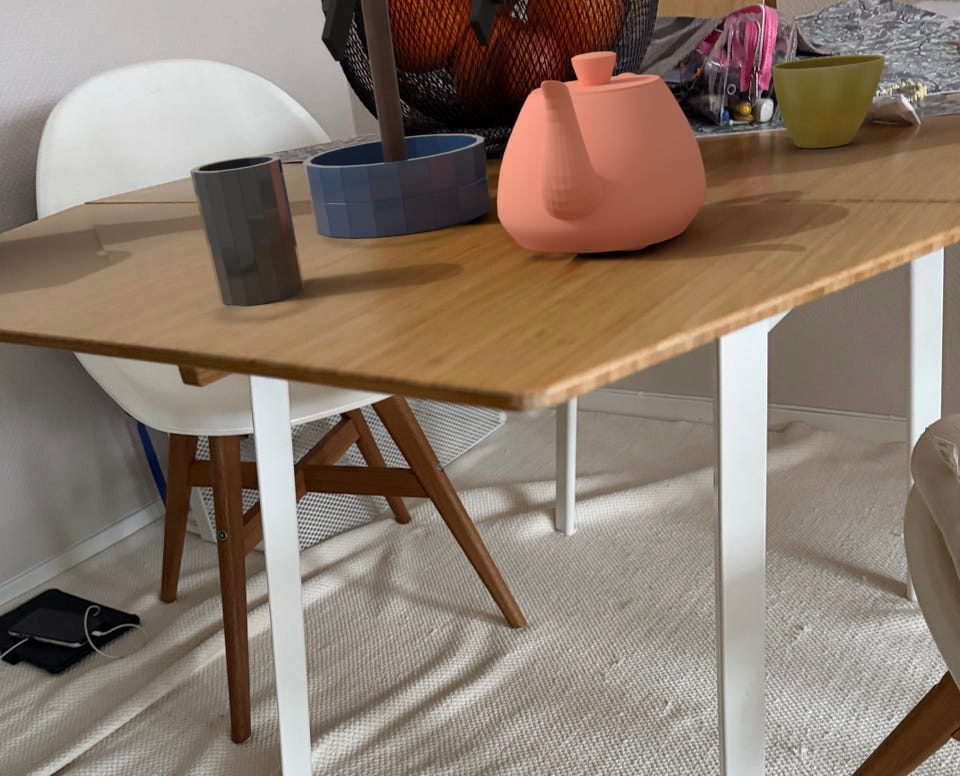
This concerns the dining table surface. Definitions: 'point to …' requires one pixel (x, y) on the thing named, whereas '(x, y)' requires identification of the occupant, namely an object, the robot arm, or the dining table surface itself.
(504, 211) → the teapot
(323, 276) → the dining table surface
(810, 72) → the flower pot
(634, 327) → the dining table surface
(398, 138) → the stick
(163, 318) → the dining table surface
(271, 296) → the utensil cup
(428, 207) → the bowl
